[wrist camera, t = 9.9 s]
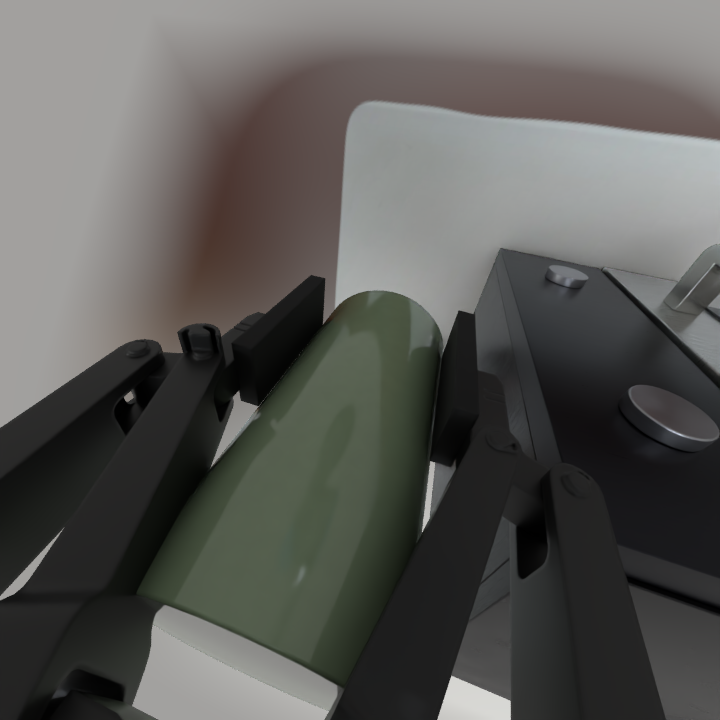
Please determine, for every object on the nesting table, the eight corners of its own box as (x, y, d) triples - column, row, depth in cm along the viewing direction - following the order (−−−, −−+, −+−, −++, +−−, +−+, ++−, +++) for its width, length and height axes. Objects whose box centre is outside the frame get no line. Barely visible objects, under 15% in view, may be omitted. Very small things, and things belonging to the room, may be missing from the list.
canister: (329, 277, 16) (53, 552, 5) (459, 306, 15) (439, 723, 4) (325, 374, 21) (165, 637, 10) (426, 403, 19) (373, 734, 9)
